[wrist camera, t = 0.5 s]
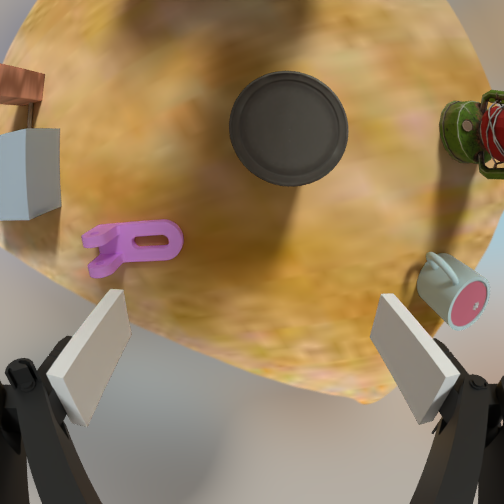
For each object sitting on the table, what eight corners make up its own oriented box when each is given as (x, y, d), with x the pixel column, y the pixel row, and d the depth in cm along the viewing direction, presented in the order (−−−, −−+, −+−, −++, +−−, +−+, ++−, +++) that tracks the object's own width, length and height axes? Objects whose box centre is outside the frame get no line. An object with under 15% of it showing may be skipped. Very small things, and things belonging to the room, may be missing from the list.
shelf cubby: (5, 140, 34) (-28, 143, 26) (59, 128, 34) (25, 128, 26) (8, 208, 38) (-23, 221, 30) (61, 206, 38) (29, 220, 30)
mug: (462, 275, 45) (495, 299, 35) (429, 310, 47) (457, 340, 37) (433, 223, 41) (471, 242, 32) (395, 262, 43) (427, 290, 34)
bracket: (105, 259, 42) (85, 278, 35) (99, 224, 40) (76, 238, 33) (185, 256, 42) (176, 276, 35) (181, 217, 40) (170, 231, 33)
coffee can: (320, 163, 38) (360, 171, 25) (246, 182, 38) (248, 200, 25) (300, 90, 34) (330, 62, 21) (224, 108, 35) (214, 86, 22)
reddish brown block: (24, 80, 31) (-23, 73, 19) (46, 74, 31) (-2, 62, 20) (21, 190, 37) (-28, 206, 26) (41, 188, 37) (-8, 204, 26)
